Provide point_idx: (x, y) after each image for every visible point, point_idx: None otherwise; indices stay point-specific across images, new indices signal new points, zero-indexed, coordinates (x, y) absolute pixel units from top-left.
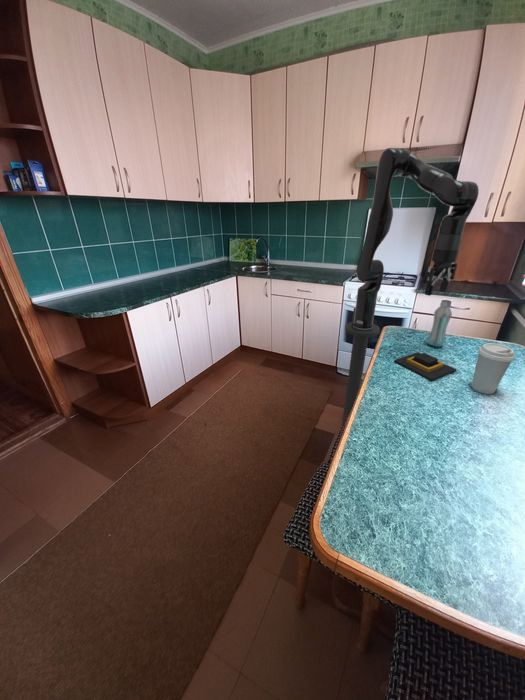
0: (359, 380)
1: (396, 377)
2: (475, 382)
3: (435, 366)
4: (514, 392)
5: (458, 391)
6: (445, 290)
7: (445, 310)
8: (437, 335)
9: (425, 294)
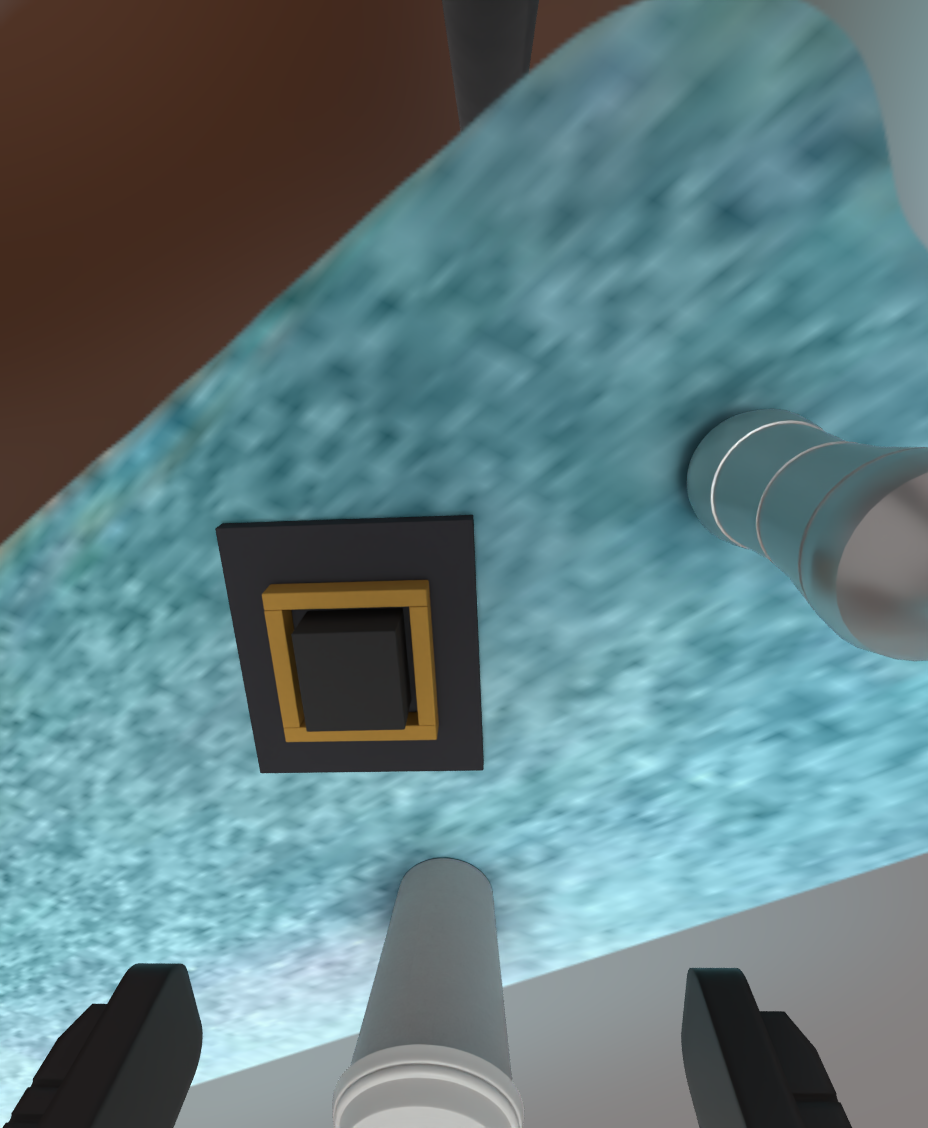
0: (489, 80)
1: (113, 657)
2: (392, 913)
3: (351, 738)
4: (540, 960)
5: (316, 862)
6: (698, 1105)
7: (895, 637)
8: (728, 528)
9: (143, 968)
